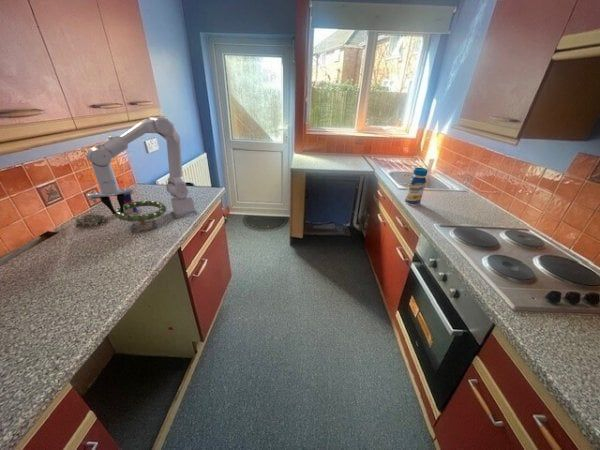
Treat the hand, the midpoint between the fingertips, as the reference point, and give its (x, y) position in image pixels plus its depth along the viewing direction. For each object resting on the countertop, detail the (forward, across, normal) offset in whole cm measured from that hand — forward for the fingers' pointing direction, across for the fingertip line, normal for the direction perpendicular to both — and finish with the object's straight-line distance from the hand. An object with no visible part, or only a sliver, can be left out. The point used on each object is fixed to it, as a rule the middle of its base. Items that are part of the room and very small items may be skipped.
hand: (118, 212), depth 101 cm
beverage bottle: (+9, +139, -41) cm, 146 cm away
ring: (+1, +8, 0) cm, 8 cm away
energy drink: (+9, +3, +19) cm, 21 cm away
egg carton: (+9, -12, +15) cm, 21 cm away
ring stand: (+9, +7, +1) cm, 11 cm away
